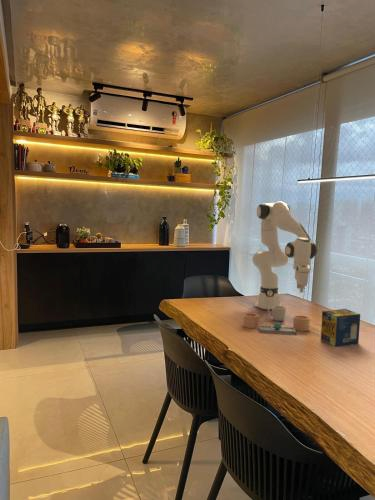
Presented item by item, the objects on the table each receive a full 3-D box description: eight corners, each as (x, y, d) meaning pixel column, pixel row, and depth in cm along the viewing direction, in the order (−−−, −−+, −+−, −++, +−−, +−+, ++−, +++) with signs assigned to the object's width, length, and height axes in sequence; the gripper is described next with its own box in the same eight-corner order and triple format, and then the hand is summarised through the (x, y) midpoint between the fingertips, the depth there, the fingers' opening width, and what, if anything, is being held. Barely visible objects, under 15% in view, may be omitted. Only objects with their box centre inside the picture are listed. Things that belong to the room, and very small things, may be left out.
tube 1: (243, 323, 218) (243, 312, 217) (258, 324, 217) (258, 313, 216) (243, 327, 209) (243, 316, 209) (259, 328, 208) (259, 317, 208)
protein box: (320, 340, 191) (321, 310, 189) (343, 337, 196) (345, 308, 195) (334, 347, 181) (336, 316, 179) (359, 343, 186) (361, 313, 185)
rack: (260, 332, 202) (260, 329, 201) (259, 328, 209) (259, 325, 209) (296, 334, 199) (296, 331, 199) (293, 329, 207) (293, 327, 207)
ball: (273, 328, 206) (273, 321, 206) (280, 328, 206) (280, 321, 206) (273, 330, 202) (274, 323, 202) (281, 330, 202) (281, 323, 202)
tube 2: (292, 326, 214) (292, 314, 214) (307, 326, 213) (308, 315, 213) (294, 330, 206) (295, 319, 205) (310, 331, 205) (311, 319, 204)
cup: (265, 320, 226) (266, 307, 225) (269, 316, 233) (269, 304, 232) (283, 322, 221) (284, 309, 220) (286, 319, 228) (287, 306, 227)
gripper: (293, 263, 221) (291, 285, 223) (298, 269, 201) (297, 294, 202) (304, 263, 220) (302, 286, 222) (310, 269, 200) (309, 294, 202)
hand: (299, 290), depth 212 cm, fingers open, 8 cm apart
